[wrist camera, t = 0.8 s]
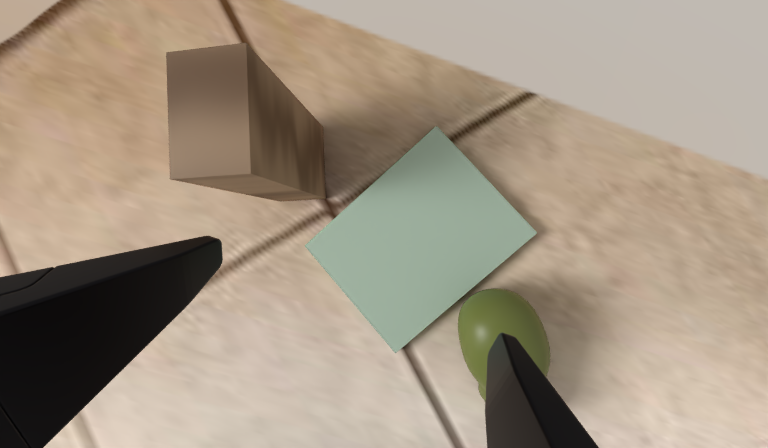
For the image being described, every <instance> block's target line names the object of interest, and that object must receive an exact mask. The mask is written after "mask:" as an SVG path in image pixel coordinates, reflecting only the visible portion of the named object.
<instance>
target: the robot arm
mask: <svg viewBox="0 0 768 448" xmlns="http://www.w3.org/2000/svg"><path fill="white" fill-rule="evenodd" d="M222 260H223V258H222V243H221V241H220V240H219V239H217V238H214V237H211V236H203V237H198V238H193V239H188V240H183V241H178V242H174V243H169V244H164V245H159V246H154V247H149V248H144V249H139V250H134V251H129V252H124V253H119V254H115V255H110V256H105V257H100V258H95V259H90V260H85V261H80V262H75V263H70V264H65V265H60V266H56V267H55V268H53V267H50V268H45V269H40V270H36V271H31V272H25V273H20V274H15V275H10V276H5V277H0V448H43V447H44V446H45V445H46V444H47V443H48V442H49V441H50V440H51V439H52V438H53V437H54V436H55V435H57V434H58V433H59V432H60V431H61V430H62V429H63V428H64V427H65V426H66V425H67V424H68V423H69V422H70V421H71V420H72V419H73V418H74V417H75V416H76V415H77V414H78V413H79V412H80V411H81V410H82V409H83V408H84V407H85V406H86V405H87V404H88V403H89V402H90V401H91V400H92V399H93V398H94V397H95V396H96V395H97V394H98V393H99V392H100V391H101V390H102V389H103V388H104V387H105V386H106V385H107V384H108V383H109V382H110V381H111V380H112V379H113V378H114V377H115V376H116V375H118V374H119V373H120V372H121V371H122V370H123V369H124V368H125V367H126V366H127V365H128V364H129V363H130V362H131V361H132V360H133V359H134V358H135V357H136V356H137V355H138V354H139V353H140V352H141V351H142V350H143V349H144V348H145V347H146V346H147V345H148V344H149V343H150V342H151V341H152V340H153V339H154V338H155V337H156V336H157V335H158V334H159V333H160V332H161V331H162V330H163V329H164V328H165V327H166V326H167V325H168V324H169V323H170V322H171V321H172V320H173V319H174V318H175V317H176V316H177V315H179V314H180V313H181V312H182V311H183V310H184V309H185V307H186V306H187V305H188V304H189V303H190V302H191V301H192V300H193V299H194V298H195V296H196V295H197V294H198V293H199V292H200V290H201V289H202V288H203V287H204V286H205V284H206V283H207V282H208V281H209V280H210V279H211V277H212V276H213V275H214V274H215V273H216V271H217V270H218V269H219V268H220V266H221V264H222ZM485 417H486V433H487V448H599V447H598V446H597V445H596V443H595V442H594V441H593V439H592V438H591V437H590V435H589V434H588V433H587V431H586V430H585V429H584V427H583V426H582V425H581V423H580V422H579V421H578V419H577V418H576V417H575V415H574V414H573V413H572V411H571V410H570V409H569V407H568V406H567V405H566V403H565V402H564V401H563V399H562V398H561V397H560V395H559V394H558V393H557V391H556V390H555V389H554V387H553V386H552V385H551V383H550V382H549V381H548V379H547V378H546V377H545V375H544V374H543V373H542V371H541V370H540V369H539V367H538V366H537V365H536V363H535V362H534V361H533V359H532V358H531V357H530V355H529V354H528V353H527V351H526V350H525V349H524V347H523V346H522V345H521V343H520V342H519V341H518V339H517V338H516V337H514V336H512V335H509V334H506V333H500V334H499V335H498V336H497V338H496V340H495V341H494V343H493V345H492V347H491V348H490V350H489V353H488V357H487V378H486V401H485Z"/></svg>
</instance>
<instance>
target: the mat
mask: <svg viewBox="0 0 768 448" xmlns="http://www.w3.org/2000/svg"><path fill="white" fill-rule="evenodd" d="M535 234H537V232H536V231H535V230H534V229H533V228H532V227H531V226H530V225H529V224H528V223H527V221H526V220H525V219H524V218H523V217H522V216H521V215H520V214H519V213H518V212H517V211H516V210H515V209H514V208H513V207H512V206H511V204H510V203H509V202H508V201H507V200H506V199H505V198H504V197H503V196H502V195H501V194H500V193H499V192H498V191H497V190H496V188H495V187H494V186H493V185H492V184H491V183H490V182H489V181H488V180H487V179H486V178H485V177H484V176H483V175H482V174H481V173H480V171H479V170H478V169H477V168H476V167H475V166H474V165H473V164H472V163H471V162H470V161H469V160H468V159H467V158H466V157H465V156H464V154H463V153H462V152H461V151H460V150H459V149H458V148H457V147H456V146H455V145H454V144H453V143H452V142H451V141H450V140H449V138H448V137H447V136H446V135H445V134H444V133H443V132H442V131H441V130H440V129H439V128H438V127H437V126H436V127H435V128H433V129H432V130H431V131H430V132H429V133H428V134H427V135H426V136H425V137H424V138H422V139H421V140H420V141H419V142H418V143H417V144H416V145H415V146H414V147H413V148H411V149H410V150H409V151H408V152H407V153H406V154H405V155H404V156H403V157H402V158H400V159H399V160H398V161H397V162H396V163H395V164H394V165H393V166H392V167H391V168H389V169H388V170H387V171H386V172H385V173H384V174H383V175H382V176H381V177H380V178H379V179H377V180H376V181H375V182H374V183H373V184H372V185H371V186H370V187H369V188H368V189H366V190H365V191H364V192H363V193H362V194H361V195H360V196H359V197H358V198H357V199H355V200H354V201H353V202H352V203H351V204H350V205H349V206H348V207H347V208H346V209H344V210H343V211H342V212H341V213H340V214H339V215H338V216H337V217H336V218H335V219H333V220H332V221H331V222H330V223H329V224H328V225H327V226H326V227H325V228H324V229H323V230H321V231H320V232H319V233H318V234H317V235H316V236H315V237H314V238H313V239H312V240H310V241H309V242H308V243H307V244H306V245H305V247H306V248H307V249H308V250H309V252H310V253H311V254H312V255H313V256H314V257H315V259H316V260H317V261H318V262H319V263H320V265H321V266H322V267H323V268H324V269H325V271H326V272H327V273H328V274H329V275H330V276H331V278H332V279H333V280H334V281H335V282H336V284H337V285H338V286H339V287H340V288H341V289H342V291H343V292H344V293H345V294H346V295H347V297H348V298H349V299H350V300H351V301H352V302H353V304H354V305H355V306H356V307H357V308H358V310H359V311H360V312H361V313H362V314H363V315H364V317H365V318H366V319H367V320H368V321H369V323H370V324H371V325H372V326H373V327H374V329H375V330H376V331H377V332H378V333H379V334H380V336H381V337H382V338H383V339H384V340H385V342H386V343H387V344H388V345H389V346H390V347H391V349H392V350H393V351H394V352H395V353H396V352H397V351H399V350H400V349H401V348H402V347H403V346H405V345H406V344H407V343H408V342H409V341H410V340H412V339H413V338H414V337H415V336H416V335H418V334H419V333H420V332H421V331H422V330H423V329H425V328H426V327H427V326H428V325H429V324H430V323H432V322H433V321H434V320H435V319H436V318H438V317H439V316H440V315H441V314H442V313H443V312H445V311H446V310H447V309H448V308H449V307H451V306H452V305H453V304H454V303H455V302H456V301H458V300H459V299H460V298H461V297H462V296H464V295H465V294H466V293H467V292H468V291H469V290H471V289H472V288H473V287H474V286H475V285H476V284H478V283H479V282H480V281H481V280H482V279H484V278H485V277H486V276H487V275H488V274H489V273H491V272H492V271H493V270H494V269H495V268H497V267H498V266H499V265H500V264H501V263H502V262H504V261H505V260H506V259H507V258H508V257H509V256H511V255H512V254H513V253H514V252H515V251H517V250H518V249H519V248H520V247H521V246H522V245H524V244H525V243H526V242H527V241H528V240H530V239H531V238H532V237H533V236H534V235H535Z"/></svg>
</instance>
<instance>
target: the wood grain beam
mask: <svg viewBox="0 0 768 448" xmlns="http://www.w3.org/2000/svg"><path fill="white" fill-rule="evenodd" d="M166 59H167V93H168V127H169V162H170V179H171V180H176V181H181V182H186V183H191V184H196V185H201V186H206V187H211V188H216V189H221V190H226V191H231V192H236V193H241V194H246V195H251V196H256V197H261V198H266V199H271V200H276V201H294V200H311V199H326V189H325V165H324V140H323V126H322V125H321V124H320V123H319V122H318V121H317V120H316V119H315V118H314V116H313V115H312V114H311V113H310V112H309V111H308V110H307V109H306V108H305V107H304V106H303V104H302V103H301V102H300V101H299V100H298V99H297V98H296V97H295V96H294V95H293V93H292V92H291V91H290V90H289V89H288V88H287V87H286V86H285V85H284V84H283V83H282V81H281V80H280V79H279V78H278V77H277V76H276V75H275V74H274V73H273V72H272V71H271V69H270V68H269V67H268V66H267V65H266V64H265V63H264V62H263V61H262V60H261V58H260V57H259V56H258V55H257V54H256V53H255V52H254V51H253V50H252V49H251V48H250V46H249V45H248V44H247V43H240V44H232V45H224V46H216V47H208V48H199V49H191V50H183V51H175V52H166Z"/></svg>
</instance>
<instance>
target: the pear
mask: <svg viewBox="0 0 768 448" xmlns="http://www.w3.org/2000/svg"><path fill="white" fill-rule="evenodd" d="M458 332H459V340H460V345H461V349H462V353H463V356H464V359H465V362H466V364H467V366H468V368H469V370H470V372H471V373H472V375H473V376H474V377H475V379H476V380H477V381H478V383H479V392H480V395H481V396H482V398H483V399H484V400H485V401H486V378H487V357H488V353H489V350H490V348H491V347H492V345H493V343H494V341H495V340H496V338H497V336H498V335H499V334H500V333H506V334H509V335H512V336H514V337H516V338H517V339H518V341H519V342H520V343H521V345H522V346H523V347H524V349H525V350H526V351H527V353H528V354H529V355H530V357H531V358H532V359H533V361H534V362H535V363H536V365H537V366H538V367H539V369H540V370H541V371H542V373H543V374H544V375H545V377H546V376H547V373H548V369H549V365H550V349H549V343H548V339H547V336H546V333H545V330H544V327H543V325H542V323H541V321H540V319H539V317H538V315H537V313H536V312H535V310H534V309H533V307H532V306H531V305H530V304H529V303H528V302H527V301H526V300H525V299H524V298H523V297H521V296H520V295H518V294H516V293H514V292H512V291H509V290H505V289H487V290H483V291H480V292H478V293H476V294H474V295H472V296H471V297H470V298H469V299H468V300H467V301H466V302H465V303H464V304H463V306H462V308H461V310H460V313H459V318H458Z"/></svg>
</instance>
